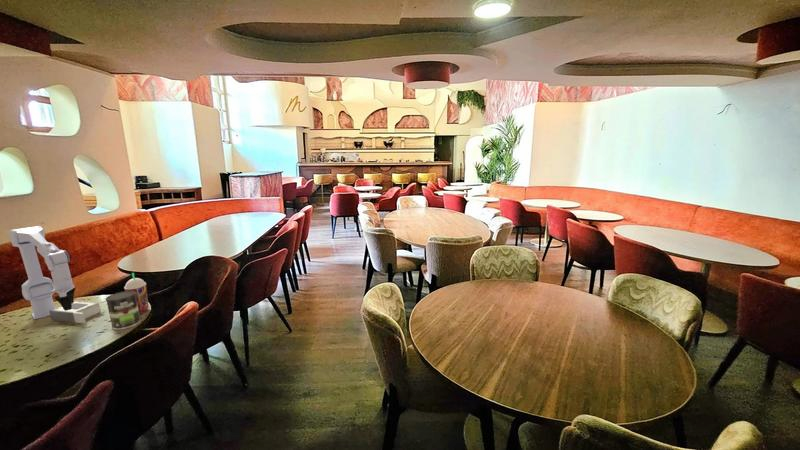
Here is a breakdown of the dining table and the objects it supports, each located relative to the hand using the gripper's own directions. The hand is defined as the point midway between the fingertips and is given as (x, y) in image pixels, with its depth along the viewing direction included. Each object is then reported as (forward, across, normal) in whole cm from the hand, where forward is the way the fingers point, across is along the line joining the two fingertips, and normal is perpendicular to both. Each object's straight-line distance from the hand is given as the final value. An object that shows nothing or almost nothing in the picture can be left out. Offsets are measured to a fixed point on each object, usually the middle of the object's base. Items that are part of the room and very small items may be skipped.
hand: (69, 306), depth 148 cm
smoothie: (+9, +3, +24) cm, 26 cm away
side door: (+9, -6, -2) cm, 11 cm away
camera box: (+9, -11, +1) cm, 15 cm away
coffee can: (+9, +15, +19) cm, 26 cm away
